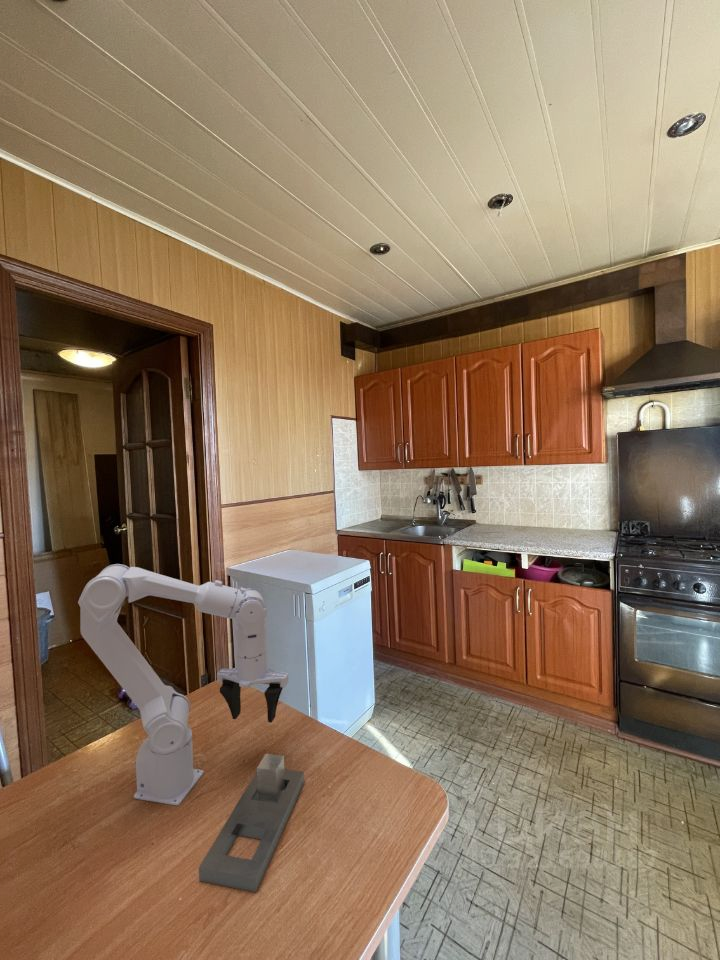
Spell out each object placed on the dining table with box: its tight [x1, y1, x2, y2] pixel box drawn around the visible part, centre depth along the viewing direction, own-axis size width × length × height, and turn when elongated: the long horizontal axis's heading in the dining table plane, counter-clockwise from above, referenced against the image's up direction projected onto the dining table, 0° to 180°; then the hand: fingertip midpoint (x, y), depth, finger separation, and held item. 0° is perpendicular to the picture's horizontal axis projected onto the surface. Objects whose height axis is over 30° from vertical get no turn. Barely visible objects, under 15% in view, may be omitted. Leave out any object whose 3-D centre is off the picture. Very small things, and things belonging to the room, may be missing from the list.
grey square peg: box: [256, 753, 285, 804], centre depth 72 cm, size 4×4×7 cm
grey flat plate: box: [198, 768, 305, 893], centre depth 67 cm, size 9×20×2 cm, turn 168°
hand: (254, 717), depth 80 cm, fingers open, 7 cm apart
